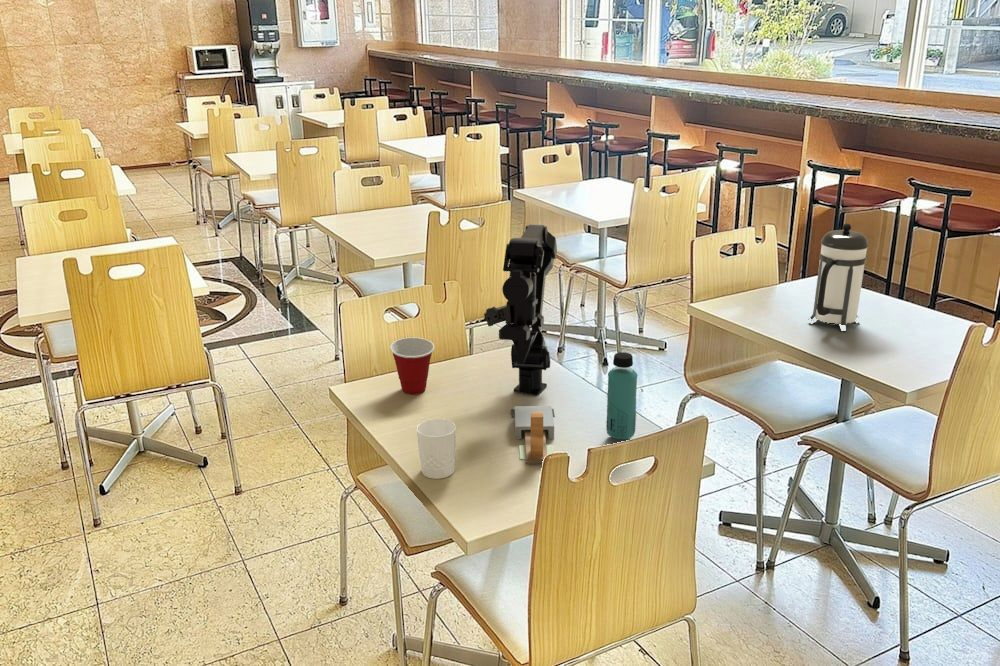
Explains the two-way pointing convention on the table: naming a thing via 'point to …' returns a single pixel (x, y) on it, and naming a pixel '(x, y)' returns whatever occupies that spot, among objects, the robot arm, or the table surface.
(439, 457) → the white cup
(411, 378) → the plastic cup
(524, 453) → the pad
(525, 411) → the tunnel
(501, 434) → the table surface
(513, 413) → the pit
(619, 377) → the beverage bottle
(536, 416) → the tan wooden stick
